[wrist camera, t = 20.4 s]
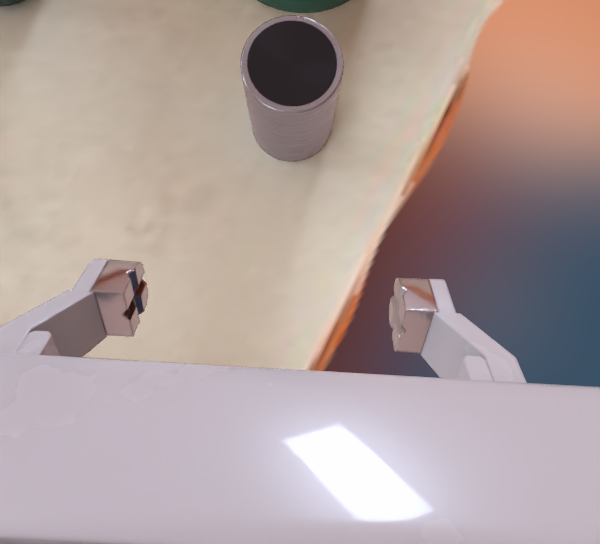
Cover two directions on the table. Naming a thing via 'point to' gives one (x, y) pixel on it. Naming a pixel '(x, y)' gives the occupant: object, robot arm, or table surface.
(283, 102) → the steel cup
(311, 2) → the bucket
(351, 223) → the table surface
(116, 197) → the table surface
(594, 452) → the robot arm
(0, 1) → the coffee jar
